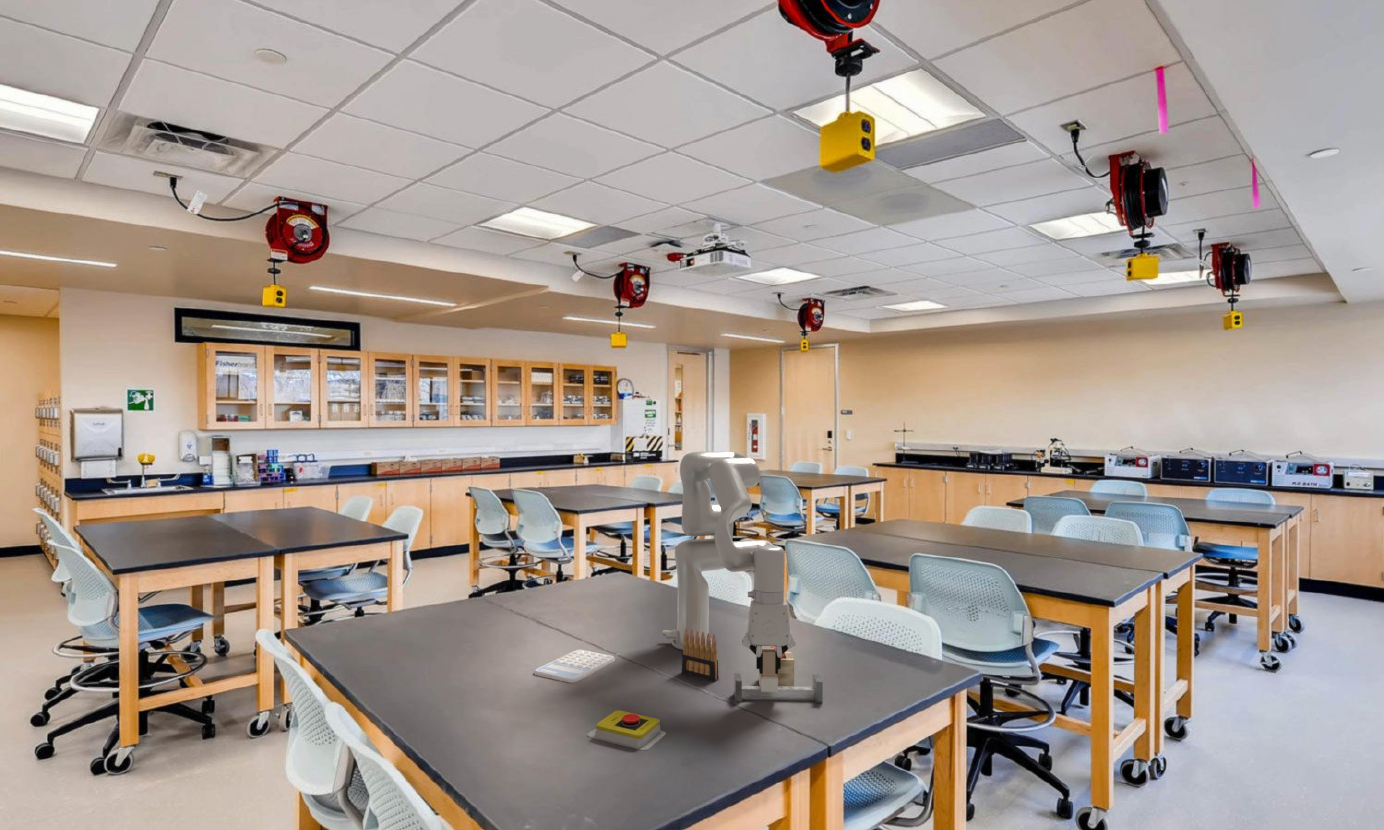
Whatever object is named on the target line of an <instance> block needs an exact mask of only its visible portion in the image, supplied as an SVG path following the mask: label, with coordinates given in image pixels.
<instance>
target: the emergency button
mask: <svg viewBox="0 0 1384 830" xmlns="http://www.w3.org/2000/svg"><path fill="white" fill-rule="evenodd" d="M586 735H587V737H588V738H591V739H596V740H600V741H604V742H606V743H611V744H616V745H620V746H624V747H628V748H632V749H636V750H641V751H648V750H650V749H651V748H652V747H653V746H654V745H656V744H657V743H658V742H659V741H660V740H661V739H663V738H664V737H665V736H666V735H667V732H666V731H663V730H661V723H660V719H659V718H656V717H655V718H654V717H650V716H646V715H642V714H638V713H633V712H628V711H624V710H618V709H617V710H615V711H612V713H611V714H609V715H607V716H606V717H605V718H603V719H602V720H600V721H599V722H598V723H596V726H595V728H593V730H591V731H590V732H588V733H586Z"/></svg>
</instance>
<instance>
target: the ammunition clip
mask: <svg viewBox="0 0 1384 830" xmlns="http://www.w3.org/2000/svg"><path fill="white" fill-rule="evenodd" d="M711 639H712V647H711ZM717 648H718V647H717V638H716V634H715V633H714V634H713V635H712V637H711V635H710V632H709V633H708V635H707V640H706V646H705V635H704V632H702V635H701V646H700V636H699V632H698V631H697V632H696V637H695V643H694V632H693V630H691V633H690V643H689V634H688V629H687V628H686V630H685V635H684V645H683V650H682V651H683V653H682V655H681V674H682V675H687V676H691V677H694V678H698V679H702V680H706V681H710V682H713V683H715V682H717V681H718V680H720V679H719V660H718V649H717Z"/></svg>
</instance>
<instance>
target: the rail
mask: <svg viewBox="0 0 1384 830" xmlns="http://www.w3.org/2000/svg"><path fill="white" fill-rule="evenodd" d="M733 675H734V679H733V680H734V681H733V682H734V683H733V684H734V685H733V687H734V688H733V689H734V691H733V692H734V693H733V694H734V701H735V703H742V700H755V701H756V700H758V701H759V700H760V701H761V700H763V701H764V700H765V701H766V700H767V701H768V700H769V701H789V700H790V701H815V703H816V704H817V703H819V704H822V703H823V699H824V698H823V697H824V694H823V691H824V689H823V687H824V686H823V685H824V684H823V683H824V682H823V679H822V678H821V676H820V674H819V673H817V674H815V673H814V674H812V686H794V687H793V686H778V692H761V689H760V685H743V684H742V683H743V681H742V676H741V673H739V672H738V673H736V672H735V673H733Z"/></svg>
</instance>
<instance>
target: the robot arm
mask: <svg viewBox="0 0 1384 830" xmlns="http://www.w3.org/2000/svg"><path fill="white" fill-rule="evenodd" d="M679 475H680V480H681V485H682V507H681V529H682V532H683V533H684V534H685V535H686V536H688V537H689V536H690V537H710V536H712V537H713V538H698V539H688V540H684V541H680V542H679V543H678V544H677V545H676V547H675V549H674V561H675V568H676V576H677V578H676V579H677V610H676V611H677V612H676V613H677V615H676V616H677V617H676V618H677V623H676V624H677V625H676V629H675V628H674V629H672V630H668V629H663V630H662V637H663V638H665V639H672V640H671V645H672V647H674V648H676V649H678V650H682V651H683V645H684V635H685V630H686V628H687V629H688V634H689V643H690V633H691V630H693V632H694V643H695V637H696V632H697V631H698V632H699V636H700V646H701V635H702V632H704V635H705V646H706V640H707V635H708V633H709V634H710V630H709V627H710V625H709V623H710V621H709V620H710V618H709V617H710V616H709V615H710V611H709V610H710V602H709V601H710V587H709V586H710V585H709V583H708V581H707V579H706V578H705V577H704V575H703V574H702V572H706V571H715V570H716V571H718V570H719V571H720V570H725V569H726V570H727V571H728V572H731V573H736V572H737V573H738V572H740V573H741V572H746V571H747V572H748V571H753V589H752V590H750V591H747V598H751V599H752V600H751V601H750V605H749V609H748V610H749V611H748V619H747V620H748V621H747V631H746V633H745V635H744V636H743V639H742V641H741V645H742V646H744V647H745V648H747V649H749V650H750V651H751V652H752V653H753V654H754V655H755V656H756V660H755V661H756V665H755V667H756V669H757V670H758V673H759V672H760V674H762V673H763V657H762V653H761V652H762V648H763V647H771V646H776V652H775V673H776V674H778V669H781V657H782V655H783V654H784V653H785V652H788V650H790V649H791V648H794V647H795V646H796V641H795V639H794V637H793V635H792V633H791V619H790V610H789V604H788V603H787V601H786V600H785V572H786V571H785V569H786V568H785V564H786V563H785V561H786V559H785V558H786V557H785V556H786V555H785V551H784V548H783V547H782V546H778V545H776V544H775V545H774V544H773V543H772V542H770V541H769V540H766V539H752V540H751V539H748V540H739V541H738V540H737V541H735V540H734V541H733V539H734V538H733V536H734V534H733V533H734V522H735V521H737V520H739V519H740V518H742V517H744V516H745V515H747V514H748V513H749V512H750V511H751V509H752V505H753V504H752V503H753V502H752V500H751V498H750V495H749V494H750V493H748V489H747V488H754V487H756V486H757V485H758V484H759V483H760V479H761V471H760V468H759V465H758V464H757V462H756V461H755V460H754V459H753V458H752V457H749V456H747V455H745V454H741V453H739V452H736V451H694V452H693V451H692V452H689V453H686V454H685V455H683V456H682V458H681V461H680V463H679ZM707 481H710V482H711V485H712V488H713V489H711V487H710V485H709V483H708V482H707ZM712 490H714V494H715V497H716V500H717V502H718V503H712V502H711V501H712ZM711 648H712V638H711Z"/></svg>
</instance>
